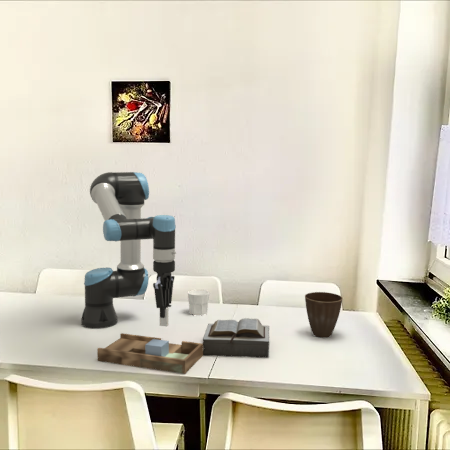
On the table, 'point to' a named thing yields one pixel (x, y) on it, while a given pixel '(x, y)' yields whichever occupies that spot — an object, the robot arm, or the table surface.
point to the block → (157, 347)
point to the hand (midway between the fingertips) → (164, 325)
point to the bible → (237, 338)
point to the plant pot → (323, 312)
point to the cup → (198, 301)
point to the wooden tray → (135, 355)
